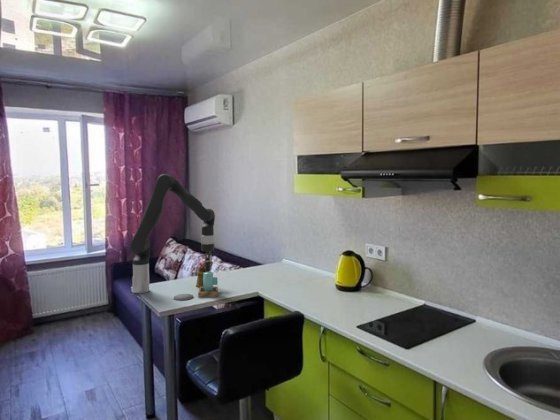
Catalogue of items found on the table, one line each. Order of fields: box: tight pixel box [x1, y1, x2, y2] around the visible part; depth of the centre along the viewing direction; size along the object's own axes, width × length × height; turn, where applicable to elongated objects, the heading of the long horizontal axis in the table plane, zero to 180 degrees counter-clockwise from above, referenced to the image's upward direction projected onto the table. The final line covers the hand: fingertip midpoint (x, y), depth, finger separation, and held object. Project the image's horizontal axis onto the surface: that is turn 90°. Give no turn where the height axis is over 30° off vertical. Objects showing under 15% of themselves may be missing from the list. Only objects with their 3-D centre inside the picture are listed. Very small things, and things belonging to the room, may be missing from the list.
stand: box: [197, 286, 219, 298], centre depth 233 cm, size 11×11×3 cm
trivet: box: [173, 293, 194, 302], centre depth 226 cm, size 11×11×1 cm
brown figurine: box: [195, 260, 214, 289], centre depth 248 cm, size 9×14×18 cm, turn 43°
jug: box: [203, 271, 218, 292], centre depth 232 cm, size 8×6×13 cm
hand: (208, 269), depth 232 cm, fingers open, 8 cm apart
